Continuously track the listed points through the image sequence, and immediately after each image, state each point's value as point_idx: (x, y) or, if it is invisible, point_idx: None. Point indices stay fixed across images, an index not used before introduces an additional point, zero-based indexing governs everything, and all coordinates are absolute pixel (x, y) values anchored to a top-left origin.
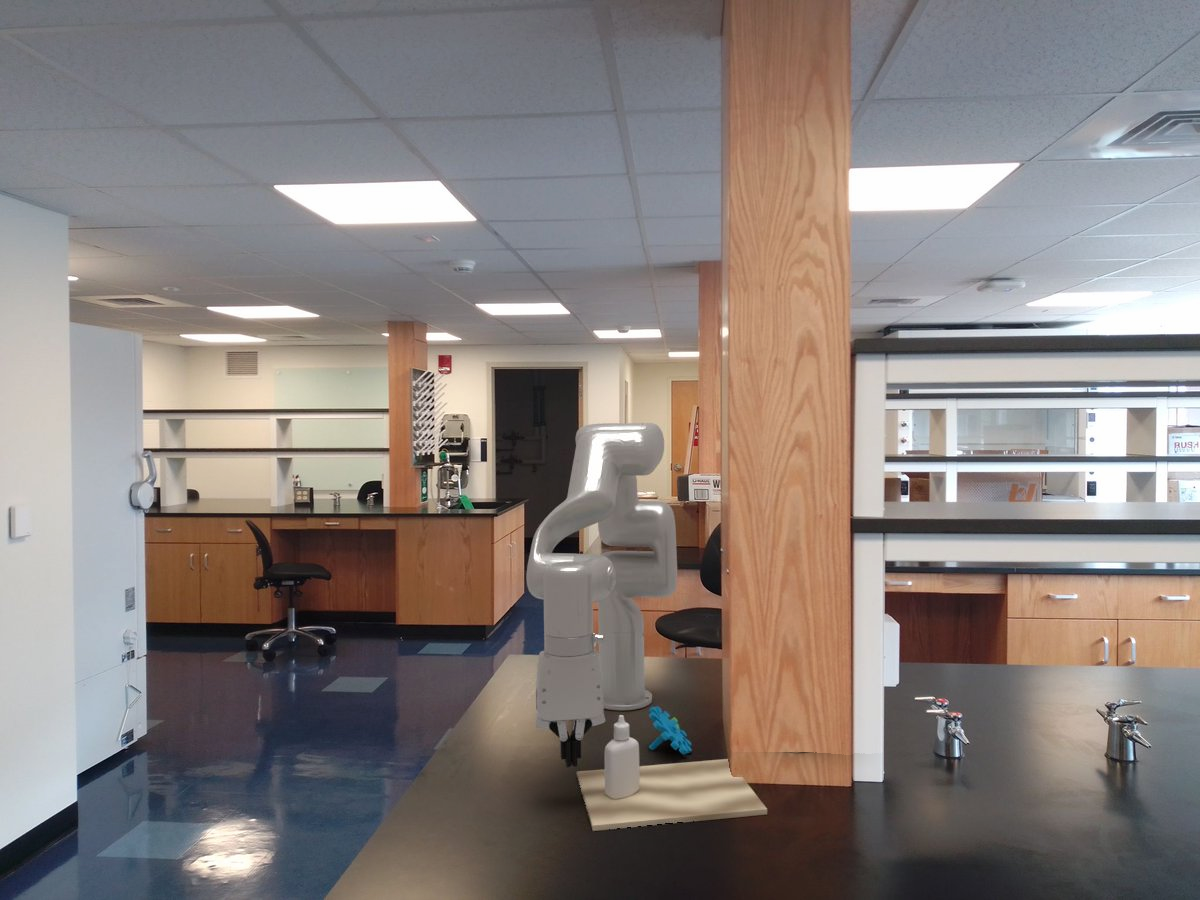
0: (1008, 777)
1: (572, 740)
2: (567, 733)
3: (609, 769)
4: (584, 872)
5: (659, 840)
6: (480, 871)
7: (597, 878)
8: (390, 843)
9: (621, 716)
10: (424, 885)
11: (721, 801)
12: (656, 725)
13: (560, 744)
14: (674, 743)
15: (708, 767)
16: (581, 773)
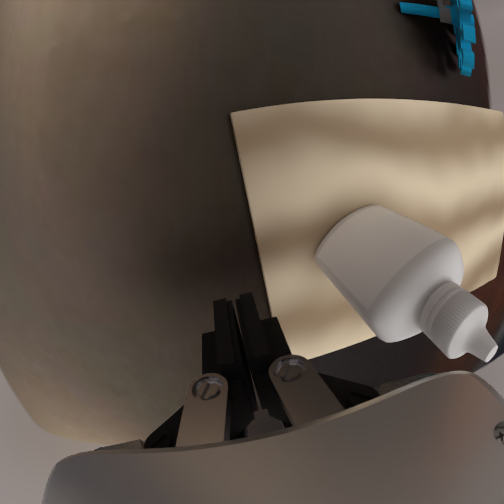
0: None
1: (264, 405)
2: (244, 419)
3: (353, 308)
4: (267, 427)
5: (373, 360)
6: (140, 432)
7: None
8: (13, 377)
9: (488, 360)
10: (98, 440)
11: (473, 262)
12: (470, 39)
13: (202, 360)
14: (469, 72)
15: (485, 136)
16: (246, 125)
